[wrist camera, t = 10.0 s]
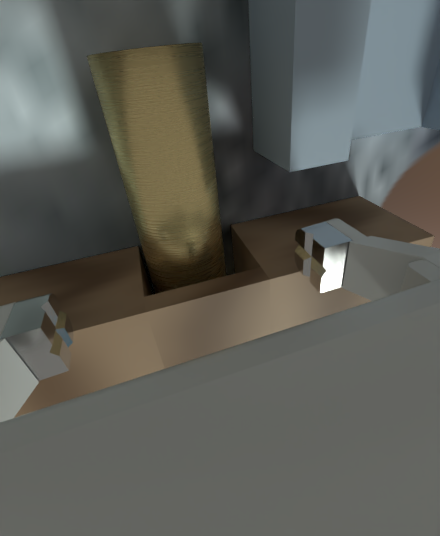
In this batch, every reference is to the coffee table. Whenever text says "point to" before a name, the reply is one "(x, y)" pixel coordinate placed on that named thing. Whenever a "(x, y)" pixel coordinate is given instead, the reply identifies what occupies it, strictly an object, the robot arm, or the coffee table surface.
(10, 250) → the coffee table surface
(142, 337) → the beam
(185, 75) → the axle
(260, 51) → the cradle
